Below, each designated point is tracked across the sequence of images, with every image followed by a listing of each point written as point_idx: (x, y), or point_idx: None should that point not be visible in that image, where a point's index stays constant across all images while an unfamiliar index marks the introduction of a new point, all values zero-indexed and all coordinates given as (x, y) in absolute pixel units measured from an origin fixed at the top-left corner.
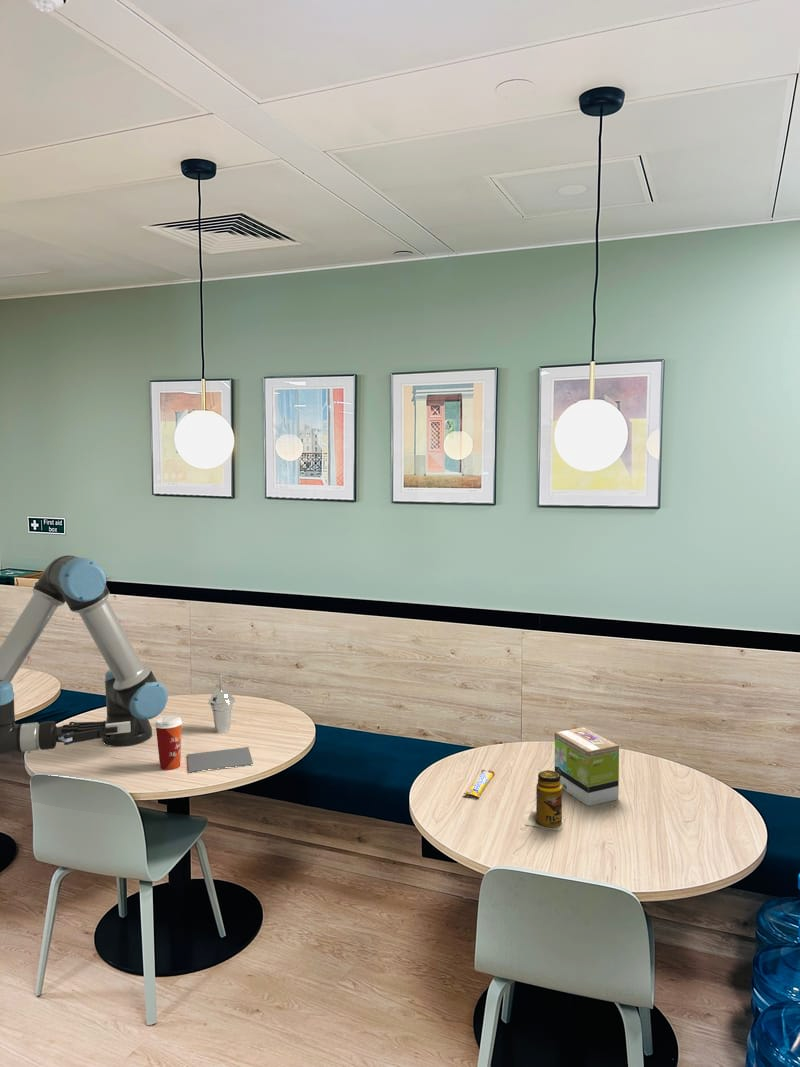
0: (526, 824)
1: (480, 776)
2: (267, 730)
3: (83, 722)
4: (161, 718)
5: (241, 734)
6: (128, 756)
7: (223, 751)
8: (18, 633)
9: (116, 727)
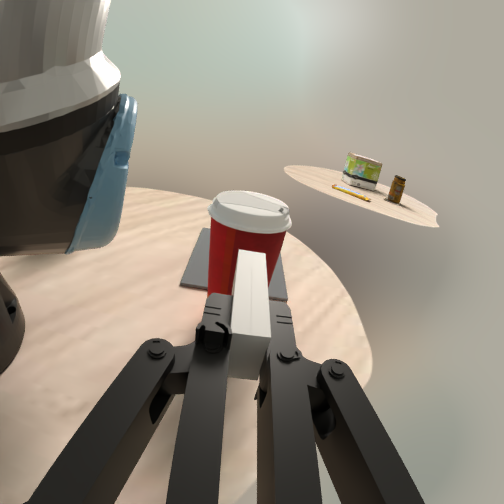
0: (398, 205)
1: (343, 188)
2: (145, 206)
3: (65, 467)
4: (233, 205)
5: (134, 221)
6: (89, 380)
7: (203, 247)
8: None
9: (283, 304)
